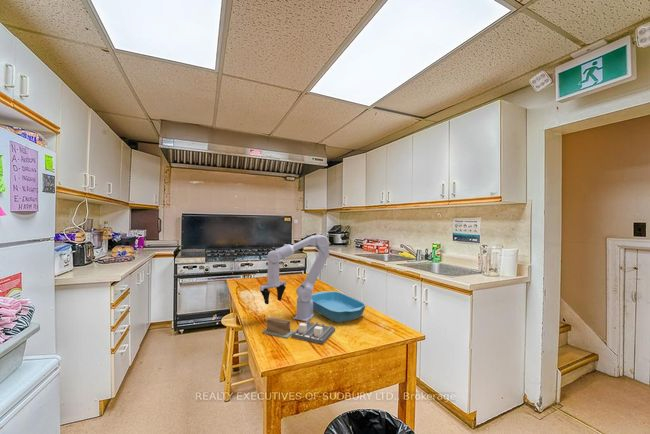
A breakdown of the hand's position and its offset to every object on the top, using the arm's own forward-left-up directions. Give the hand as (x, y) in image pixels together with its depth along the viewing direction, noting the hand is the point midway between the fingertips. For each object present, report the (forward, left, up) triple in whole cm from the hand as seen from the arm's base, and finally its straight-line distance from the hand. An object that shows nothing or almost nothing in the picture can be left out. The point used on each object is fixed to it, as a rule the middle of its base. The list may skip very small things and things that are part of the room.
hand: (273, 302), depth 132 cm
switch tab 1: (+8, +21, -8) cm, 24 cm away
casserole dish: (-25, +24, -10) cm, 36 cm away
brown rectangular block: (+10, +10, -9) cm, 17 cm away
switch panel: (+4, +25, -9) cm, 27 cm away
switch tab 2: (+8, +29, -8) cm, 31 cm away
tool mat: (+10, +10, -9) cm, 17 cm away
